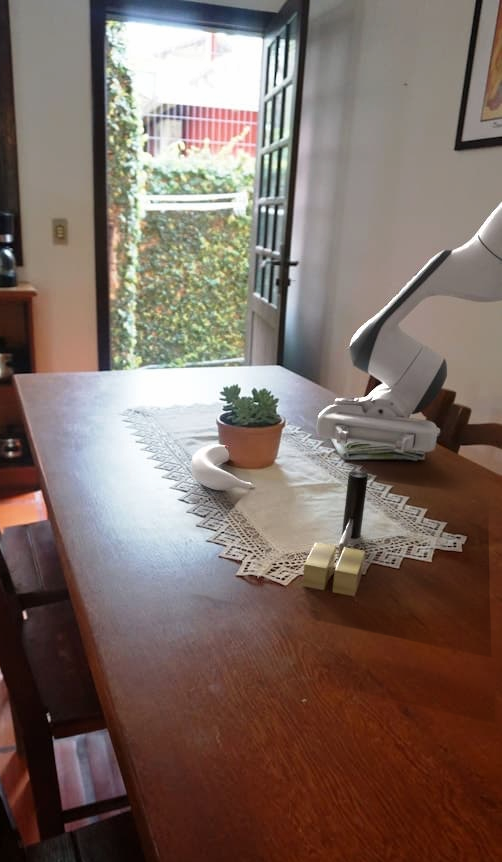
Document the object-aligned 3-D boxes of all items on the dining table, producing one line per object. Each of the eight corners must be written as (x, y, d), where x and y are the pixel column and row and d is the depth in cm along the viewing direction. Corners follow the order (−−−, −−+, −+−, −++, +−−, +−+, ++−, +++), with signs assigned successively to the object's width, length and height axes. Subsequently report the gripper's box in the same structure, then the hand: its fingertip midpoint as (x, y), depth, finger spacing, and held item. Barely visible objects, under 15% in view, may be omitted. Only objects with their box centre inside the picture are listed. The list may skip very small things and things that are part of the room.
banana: (209, 455, 140) (279, 464, 136) (176, 492, 124) (254, 504, 120) (209, 432, 138) (280, 441, 134) (176, 467, 121) (255, 479, 118)
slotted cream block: (319, 528, 110) (321, 502, 108) (388, 540, 106) (392, 514, 105) (282, 598, 90) (285, 568, 88) (367, 615, 86) (371, 584, 85)
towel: (341, 462, 138) (343, 438, 136) (323, 430, 158) (325, 409, 156) (429, 464, 139) (433, 440, 137) (400, 432, 159) (403, 410, 157)
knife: (343, 529, 106) (350, 469, 102) (361, 532, 106) (369, 472, 102) (329, 562, 96) (336, 497, 92) (349, 566, 96) (356, 500, 92)
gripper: (438, 445, 121) (433, 470, 109) (324, 430, 127) (308, 452, 115) (443, 411, 119) (439, 433, 107) (327, 397, 125) (311, 416, 113)
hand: (370, 443), depth 111 cm, fingers open, 8 cm apart
